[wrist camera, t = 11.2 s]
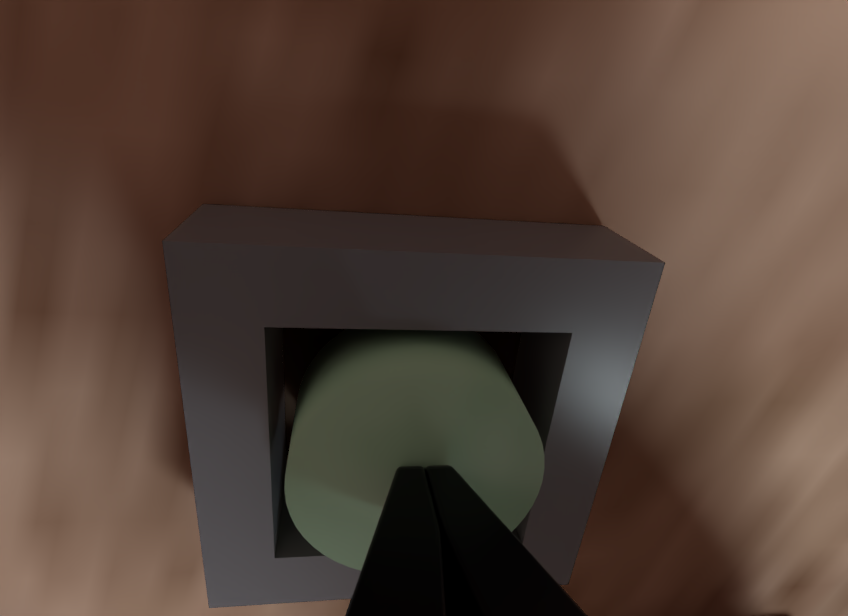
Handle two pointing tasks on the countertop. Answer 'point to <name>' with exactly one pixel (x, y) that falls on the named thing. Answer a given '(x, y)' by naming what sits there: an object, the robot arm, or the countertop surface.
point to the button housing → (393, 310)
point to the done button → (404, 431)
